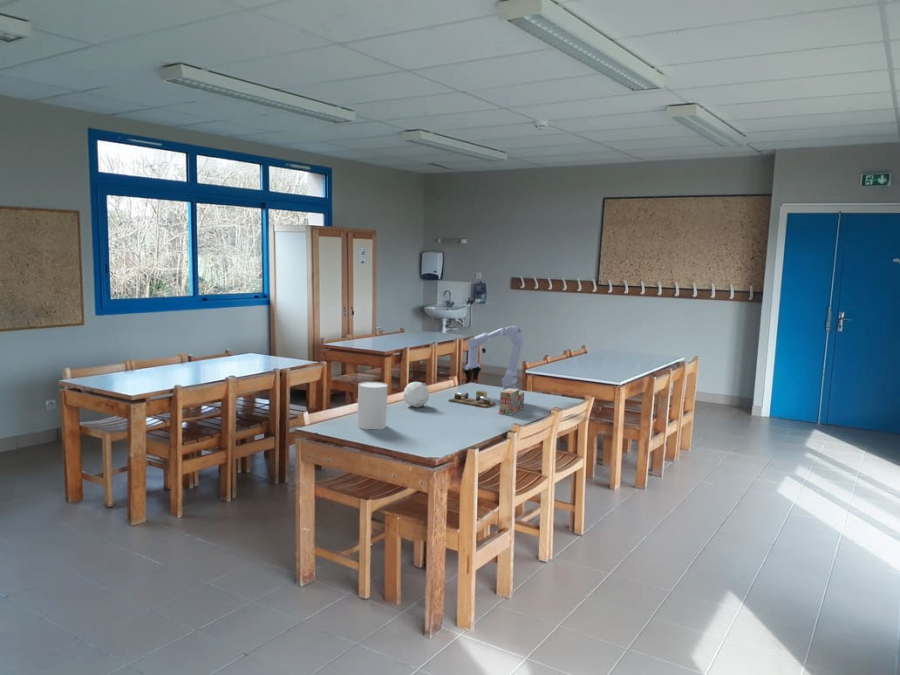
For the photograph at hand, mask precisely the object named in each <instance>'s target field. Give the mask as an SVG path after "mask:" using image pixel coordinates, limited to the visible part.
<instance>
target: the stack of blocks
mask: <svg viewBox="0 0 900 675" xmlns="http://www.w3.org/2000/svg"><path fill="white" fill-rule="evenodd" d="M519 390H520V388H519V389H512V388H508V389H506V390H504V391H503V390H502V391H500V395H499V396H500V399H499V413H501V414H500V415H504V414H509V415H508V416H511V415H510V414H512V413H514V414H515V412H516V411H517V412H519V411H521V410H523V409H524V404H525V391H520V392H519ZM522 408H523V409H522ZM520 409H521V410H520ZM518 410H519V411H518ZM517 412H516V413H517ZM499 413H498V414H499ZM512 415H513V414H512Z"/></svg>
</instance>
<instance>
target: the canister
mask: <svg viewBox="0 0 900 675" xmlns="http://www.w3.org/2000/svg"><path fill="white" fill-rule="evenodd" d="M357 388H358V390H357V394H358V395H357V415H356V416H357V419H356V420H357V421H356V422H357V423H356V427H357V428H358V427H359V428H358V429H361V428H362V430H366V429H379V430H383V429H385V428H386V427H387V406H388V405H387V403H388V384H387V383H385V382H379V381H364V382H363V381H362V382H359V383H358V386H357Z"/></svg>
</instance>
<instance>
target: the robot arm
mask: <svg viewBox="0 0 900 675" xmlns="http://www.w3.org/2000/svg"><path fill="white" fill-rule="evenodd" d="M500 336H506V337H507V339H509V340H510V341H511V342H512V348H511V352H510V357H509V362H508V365H507V369H506V371H505V373H504V376H503V377H502V378H501V384H502V391H504V390H506V389H508V388H512V389H519V392H521V391H520V388H518V387H516V384H517V382H518V372H517V370H518V366H519V361H520V356H521V354H522V353H521V352H522V348H523V346H524V345H523V344H524V339H523V335H522V330H521V328H520V327H519V326H518V325H514V324H513V325H511V326H506V327H501V328H499V329H497V330H494V331H492V332H490V333H488V332H484V331H483V332H481V333H480V334H479V335H475V336H474V337H470V338H469V339H468V340H467V346H468V352H467V354H468V355H467V356H468V358H467V359H468V360H467V364H466V366H464V369H463V373H464V375H465V378H466V382H471V381H472V379H473V380H474V381H477V380H478V377H479V375H480V372H481V370H482V368H481V363H479V362H478V361H479V346H482V345H485V344H487V343H489V342H490V341H491V339H493V338H496V337H500Z"/></svg>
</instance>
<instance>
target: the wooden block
mask: <svg viewBox="0 0 900 675" xmlns="http://www.w3.org/2000/svg"><path fill="white" fill-rule="evenodd" d="M477 395H480V396H481V397H487V398H488V391H486V390H477V391H476V394H475V398H476V397H477Z"/></svg>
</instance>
